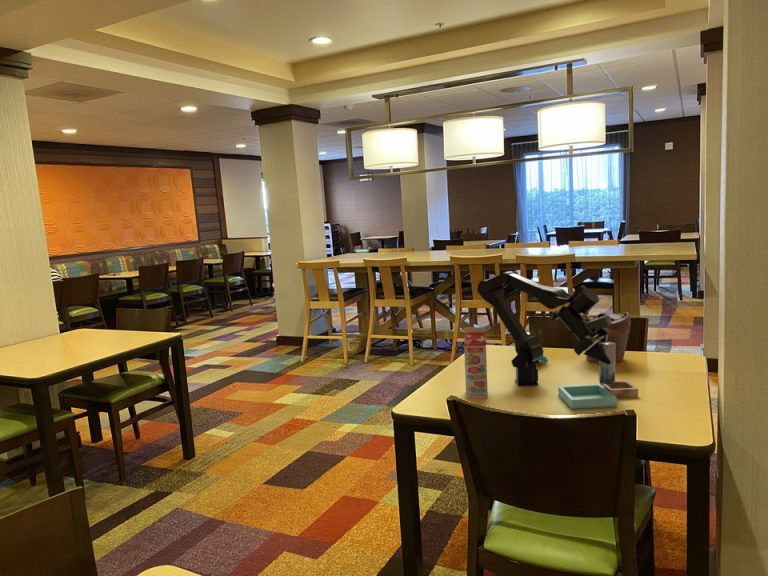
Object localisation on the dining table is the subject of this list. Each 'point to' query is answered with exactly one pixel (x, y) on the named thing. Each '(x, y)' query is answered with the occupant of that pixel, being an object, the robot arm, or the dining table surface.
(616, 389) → the collar
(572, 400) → the bin
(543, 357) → the gear
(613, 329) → the broken terracotta flower pot
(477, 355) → the juice carton
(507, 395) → the dining table surface
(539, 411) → the dining table surface
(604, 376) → the strut
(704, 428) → the dining table surface
